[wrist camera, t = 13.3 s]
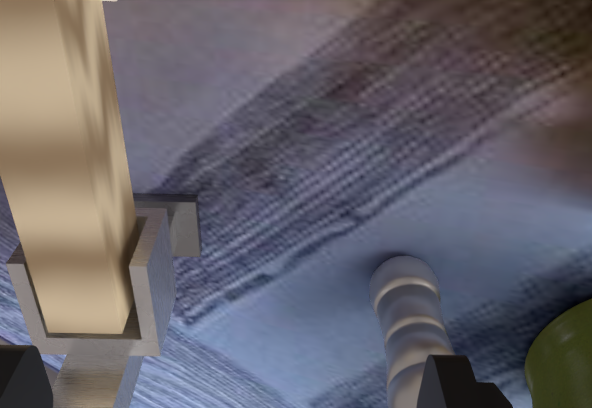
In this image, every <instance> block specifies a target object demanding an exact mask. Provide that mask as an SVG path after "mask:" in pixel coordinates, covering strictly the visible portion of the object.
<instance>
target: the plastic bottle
mask: <svg viewBox="0 0 592 408" xmlns="http://www.w3.org/2000/svg"><path fill="white" fill-rule="evenodd" d="M369 297H370V302H371V304H372V307H373V310H374V312H375V314H376V316H377V318H378V321H379V325H380V328H381V332H382V335H383V339H384V344H385V353H386V362H387V402H388V408H417V399H418V395H419V390H420V386H421V381H422V377H423V372H424V368H425V364H426V359H427V357H428V355H430V354H434V355H455V353H454V351H453V348H452V346H451V343H450V340H449V338H448V335H447V333H446V330H445V327H444V321H443V316H442V311H441V306H440V290H439V283H438V280H437V278H436V276H435V274H434V273H433V271H432V269H431V268H430V267H429V265H428V264H426V263H425V262H424V261H422V260H420V259H418V258H415V257H411V256H397V257H393V258H390V259H388V260H386V261H385V262H383V263H382V264H381V265H380V266H379V267H378V268H377V269H376V270H375V271H374V273H373V275H372V277H371V280H370V290H369Z"/></svg>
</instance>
